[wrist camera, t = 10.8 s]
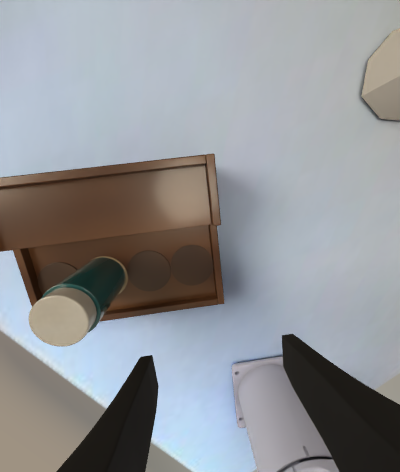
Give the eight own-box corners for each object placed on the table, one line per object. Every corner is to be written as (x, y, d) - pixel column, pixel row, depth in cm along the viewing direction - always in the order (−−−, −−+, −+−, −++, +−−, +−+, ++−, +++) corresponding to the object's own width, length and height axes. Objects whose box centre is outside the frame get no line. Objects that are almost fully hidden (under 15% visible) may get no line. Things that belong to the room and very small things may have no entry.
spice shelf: (219, 290, 21) (230, 320, 16) (58, 312, 20) (16, 351, 15) (206, 165, 18) (214, 153, 13) (20, 186, 18) (-48, 182, 13)
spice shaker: (129, 292, 18) (98, 344, 12) (88, 298, 18) (35, 354, 12) (121, 254, 17) (83, 288, 11) (78, 260, 17) (15, 297, 11)
